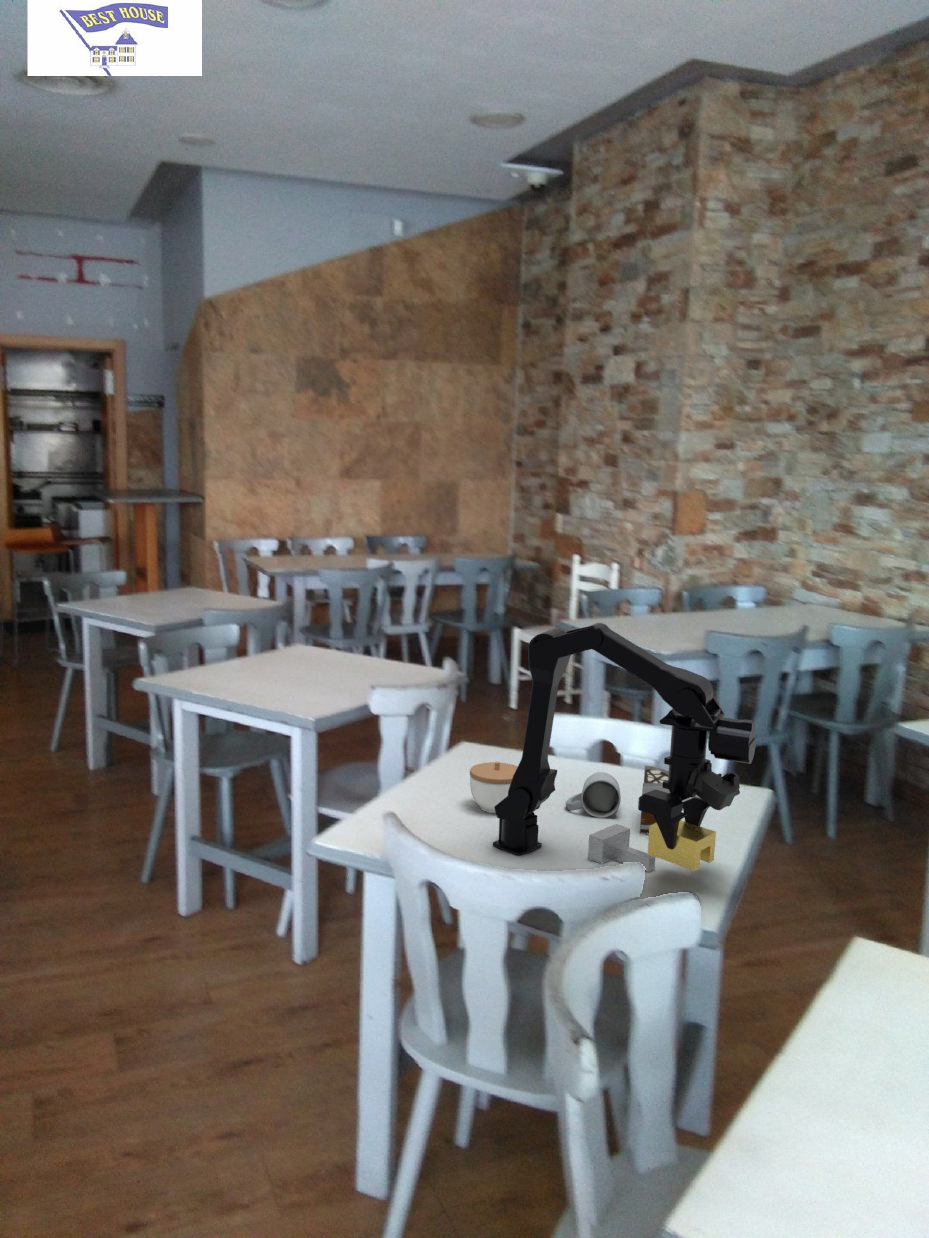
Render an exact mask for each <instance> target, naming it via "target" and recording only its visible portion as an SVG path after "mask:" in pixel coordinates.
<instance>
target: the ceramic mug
mask: <svg viewBox="0 0 929 1238" xmlns="http://www.w3.org/2000/svg"><path fill="white" fill-rule="evenodd" d="M621 800H622V799H621V788H620V784H619V782H618V780H617V779H616V778H615V777H614V776H613V775H612V774H610V773H608V772H604V771H603V772H602V771H599V772H594V773H592V774H591V775H589V776H588V777H586V779H585V782H584V783H583V786H582V790H581V792H579V793H578V794H575V795H573V796H571V797H568V799H567V800H565V806H566V808H567V810H568V811H577V810H581V809H584V812H586V813H587V814H588V815H590V816H592V817H593V818H598V819H604V818H605V819H606V818H608V817H611V816H612V815H614V814H615V813H616V812H617V810H619V807H620V805H621Z"/></svg>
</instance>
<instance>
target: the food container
mask: <svg viewBox="0 0 929 1238" xmlns="http://www.w3.org/2000/svg"><path fill="white" fill-rule="evenodd" d="M643 774H644V776H643V782H642V789H641V792H642V793H641V796H642V795H643V794H644V793H647V792H650V791H652V790H655V789H656V790H660V791H663V792H666V793H670V792H669V789H665V788H662V785H663V782H664V781H666V780H668V774H669V770H667V769H665V768H662V767H659V766H654V765H647V764H646V765H644V773H643ZM640 812H641V813H640V823H639V825H640V826H639V833H640V834H649V826H650V825H652V824H655V823H656V821H655V819H654V817H653V815H652V814H649V813H646V812H643V811H640Z"/></svg>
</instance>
